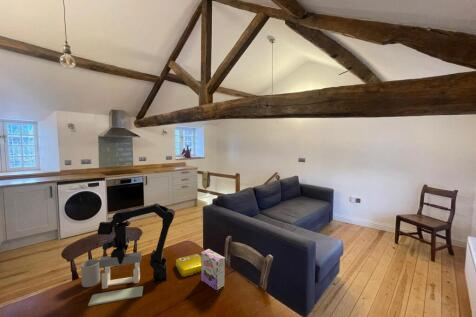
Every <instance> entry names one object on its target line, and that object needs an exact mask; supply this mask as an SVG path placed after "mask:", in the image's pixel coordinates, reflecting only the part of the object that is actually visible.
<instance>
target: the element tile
mask: <svg viewBox="0 0 476 317" xmlns="http://www.w3.org/2000/svg"><path fill="white" fill-rule="evenodd" d="M175 268H176V269H177V271H178V273H179V274H180V276H181V277H185V278H186V277H188V275H189V276H192V275H195V274H194V273H196V274H198V273H197V272H199V273H201V272H200V271H201V254H198V253H194V254H191V255H187V256H183V257H179V258H176V260H175Z"/></svg>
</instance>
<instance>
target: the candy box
mask: <svg viewBox="0 0 476 317" xmlns="http://www.w3.org/2000/svg"><path fill="white" fill-rule="evenodd" d="M200 257H201V272H200V280H201V282H203V283H204V282H205V283H204V284H206V285H207V284H208V285H209V286H208V285H207V286H208V287H210V286H211V287H212V288H211V287H210V288H211V289H213V288H214V289H215V290H218V289H220V288H221V287H223V286H224V287H225V279H226V278H225V277H226V276H225V275H226V274H225V273H226V272H225V270H226V269H225V267H226V257H225V256H223V255H221V254H219V253H217V252H215V251H213V250H212V249H210V248H208V249H207V248H206V250H203V251H201V252H200ZM214 289H213V290H214ZM215 290H214V291H215ZM220 290H221V289H220ZM218 291H219V290H218Z"/></svg>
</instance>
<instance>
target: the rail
mask: <svg viewBox="0 0 476 317" xmlns="http://www.w3.org/2000/svg"><path fill="white" fill-rule="evenodd" d="M98 260H99V268H102V269H105V267H110V268H111V267H117V266H123V265H124V266H125V265H131V264H132V265H133V264H135V263H139V262H140V263H141V262H142V251H136V252H130V253H126V254H125V256H124V259H123V261H122V264H119V262H118V259H117V257H115V258H111V255H107V256H106V255H105V256H100V258H99V259H98Z"/></svg>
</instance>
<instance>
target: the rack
mask: <svg viewBox="0 0 476 317" xmlns="http://www.w3.org/2000/svg"><path fill="white" fill-rule="evenodd" d="M140 263H141V262H139V263H134V268H133V269H132V270H133V276H130V277H123V278H116V279H111V267H104V272H102V273H101V289H102V290H104V289H108V287H112V286H118V285H123V284H124V285H125V284H129V283H133V284H139V283H140V279H141V272H140V271H141V270H140V269H141V267H140V266H141V264H140Z"/></svg>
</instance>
